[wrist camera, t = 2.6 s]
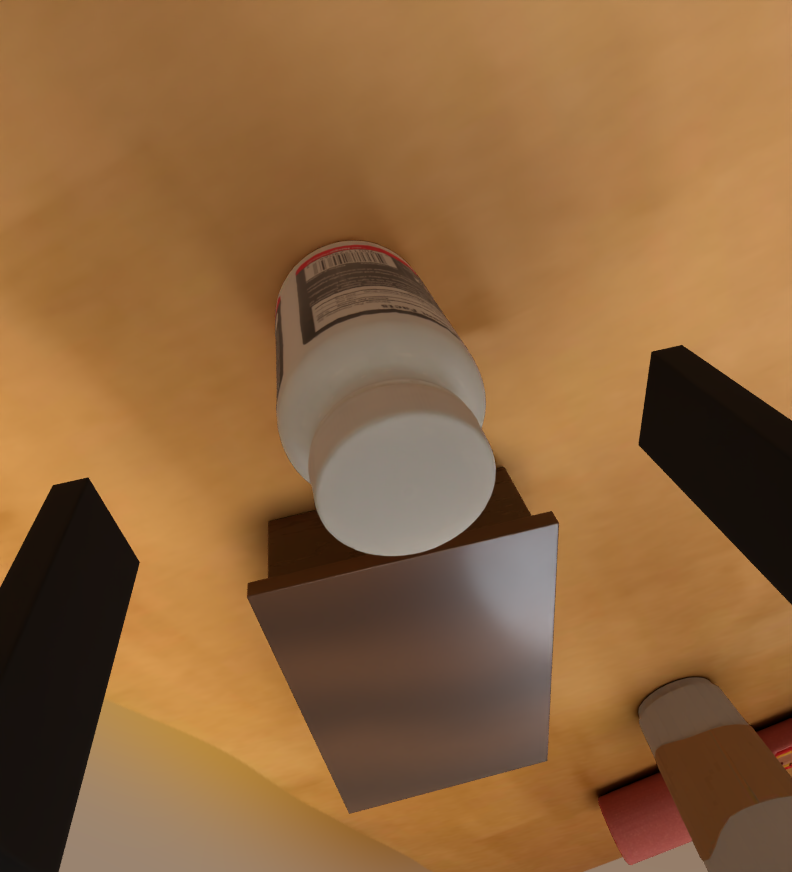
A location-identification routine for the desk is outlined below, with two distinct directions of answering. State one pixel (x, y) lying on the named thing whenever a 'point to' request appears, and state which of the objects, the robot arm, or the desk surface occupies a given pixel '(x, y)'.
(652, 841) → the blood vessel
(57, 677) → the robot arm
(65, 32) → the desk surface
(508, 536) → the stand
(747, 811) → the coffee cup
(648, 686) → the desk surface
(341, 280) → the pill bottle
